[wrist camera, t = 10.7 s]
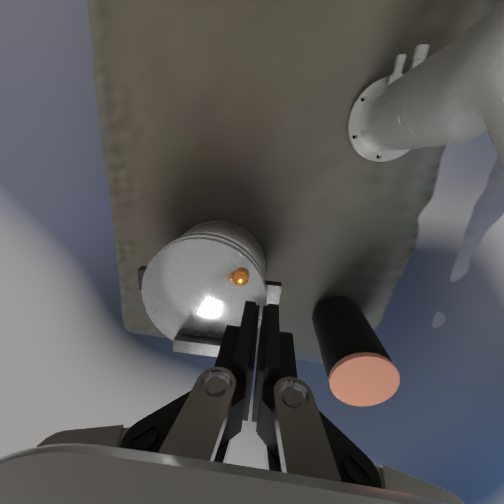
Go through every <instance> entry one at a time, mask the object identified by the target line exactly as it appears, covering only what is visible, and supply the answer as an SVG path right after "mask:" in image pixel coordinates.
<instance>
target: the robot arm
mask: <svg viewBox="0 0 504 504" xmlns="http://www.w3.org/2000/svg"><path fill="white" fill-rule="evenodd" d="M429 47H430V45H428V44H421V45H417V46H415V48H414V50H413V54H412V58H411V61H410V63H411V64H410V68H409V71H408V72H406V73H405V74H404V75H403V74H402V70H403V67H404V64H405V61H406V57H407V55H406V54H399V55H397V56H396V60H395V63H394V69H393V73H392V74H391V75H390V76H388V77H385V78H382V79H380V80H378V81H376V82H374V83H373V84H371V85H370V86H368V87H367V88H366V89H365V90H364V91H363V92H362V93H361V94H360V95H359V97H358V98H357V99H356V101H355V103H354V104H353V106H352V108H351V111H350V114H349V118H348V124H347V132H348V138H349V141H350V144H351V145H352V147H353V149H354V150H355V151H356V152H357V153H358V154H359V155H360V156H361V157H363V158H365V159H367V160H370V161H375V162H384V161H390V160H393V159H396V158H399V157H400V156H402V155H404V154H406V153H407V152H408V151H409V150H411V149H417V148H426V147H435V146H444V145H450V144H457V143H461V142H464V141H467V140H469V139H472V138H474V137H477V136H479V135H480V134H482V133H484V132H485V131H488V133H489V135H490V138H491V141H492V143H493V144H494V145H495V148H496V150H497V153H498V155H499V158H500V160H501V163H502V165H503V168H504V0H501V1H500V2H499V3H498V4H496V5H495V6H494V7H493V8H492V9H491V10H490V11H489V12H488V13H487V14H486V15H485V16H484V17H482V18H481V19H480V20H479V21H478V22H477V23H475V24H474V25H473V26H472V27H471V28H469V29H468V30H467V31H465V32H464V33H462V34H461V35H460V36H458V37H457V38H456V39H454V40H453V41H452V42H450V43H449V44H448V45H446V46H445V47H443V48H442V49H440V50H439V51H437V52H436V53H434V54H433V55H431V56H430V57H429V58H427V59H426V57H427V54H428V50H429ZM361 99H363V102H361ZM353 135H354V136H355V138H354V139H353V138H352V137H353ZM377 155H378V158H376V156H377ZM259 310H260V305H256V302H253V301H245V306H244V311H243V316H242V321H241V326H232V325H227V326H226V329H225V332H224V335H223V339H222V342H221V346H220V349H219V353H218V356H217V360H216V363H215V367H212V368H209V369H206V370H205V371H204V372H203V373H201V375H200V376H199V377H198V379H197V381H196V383H195V385H194V387H193V388H192V390H191V391H190V392H188V393H186V394H185V395H183V396H181V397H179V398H178V399H176V400H174V401H172V402H171V403H169V404H167V405H166V406H164V407H162V408H161V409H159V410H157V411H155V412H154V413H152V414H150V415H148V416H147V417H145V418H143V419H142V420H140V421H138V422H137V423H136V424H134V425H133V426H132V427H130V428H124V426H123V425H117V426H106V427H96V428H86V429H76V430H66V431H61V432H58V433H55V434H53V435H51V436H49V437H48V438H46V439H45V440H43V441H42V442H41V443H40V444H39V445H38V446H37V447H35V448H30V449H26V450H23V451H19V452H16V453H13V454H10V455H7V456H4V457H1V458H0V504H465V503H464V502H463V501H461V500H460V499H459V498H458V497H457V496H456V495H454V494H452V493H451V492H449V491H447V490H445V489H443V488H440V487H437V486H435V485H433V484H430V483H428V482H425V481H423V480H420V479H417V478H415V477H412V476H410V475H408V474H405V473H403V472H400V471H398V470H395V469H393V468H390V467H388V466H385V465H383V464H382V465H381V467H378V466H376V465H374V464H373V462H372V461H371V460H370V459H369V458H368V457H367V456H366V455H365V454H364V453H363V452H362V451H361V450H360V449H359V448H358V447H357V446H356V445H355V444H354V443H353V442H352V441H351V440H349V439H348V438H347V437H346V436H345V435H344V434H343V433H342V432H341V431H340V430H339V429H338V428H337V427H336V426H335V425H334V424H333V423H332V422H330V421H329V420H328V419H327V418H326V417H325V416H324V415H323V414H322V413H321V412H320V411H319V410H318V408H317V405H316V402H315V399H314V396H313V393H312V391H311V389H310V387H309V386H308V385H307V384H306V383H305V382H303V381H302V380H301V379H298V378H297V371H296V362H295V353H294V344H293V335H292V333H287V332H280V331H279V305H277V304H269V303H268V305H267V306H263V312H262V320H261V328H260V336H259V344H258V353H257V365H256V379H255V389H254V401H253V414H252V422H257V427H256V428H257V429H256V432H257V434H258V435H259V436H260V438H261V439H262V440H263V441H264V443H265V448H264V450H265V460H266V470H265V469H257V468H252V467H245V466H239V465H233V464H226V463H225V461H226V458H227V454H228V450H229V447H230V443H231V439H232V438H233V437H234V436H235V435H237V434H238V433H239V432H240V431H241V427H242V420H245V421H248V413H249V404H250V396H251V388H252V380H253V371H254V362H255V352H256V342H257V331H258V320H259Z"/></svg>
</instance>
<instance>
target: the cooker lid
mask: <svg viewBox="0 0 504 504" xmlns="http://www.w3.org/2000/svg"><path fill="white" fill-rule="evenodd" d="M142 299H143V303H144V306H145V309H146V311H147V314H148V315H149V317H150V319H151V320H152V322H153V323H154V324H155V326H156V327H157V328H158V329H159V330H160V331H161V332H162V333H163V334H164V335H166V336H167V337H168V338H170V339H171V340H173V350H174V351H175V352H184V353H190V354H199V355H206V356H213V357H217V356H218V353H219V349H220V346H221V342H222V339H223V335H224V332H225V329H226V326H227V325H232V326H241V321H242V316H243V311H244V306H245V301H253V302H256V305H260V310H259V320H258V328H259V327H260V325H261V320H262V312H263V306H266V305H267V293H266V287H265V282H264V280H263V277H262V275H261V273H260V271H259V269H258V268H257V266H256V265H255V264H254V262H253V261H252V260H251V259H250V258H249V257H248V256H247V255H246V254H245V253H243V252H242V251H241V250H239V249H238V248H236V247H235V246H233V245H231V244H229V243H226V242H224V241H221V240H218V239H213V238H208V237H192V238H186V239H182V240H179V241H176V242H174V243H172V244H170V245H168V246H167V247H165V248H164V249H163V250H161V251H160V252H159V253H157V255H156V256H155V257H154V258H153V259H152V260H151V261H150V263H149V264H148V266H147V268H146V270H145V273H144V276H143V280H142Z"/></svg>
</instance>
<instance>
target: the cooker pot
mask: <svg viewBox="0 0 504 504" xmlns="http://www.w3.org/2000/svg"><path fill="white" fill-rule="evenodd" d="M192 237H208V238H213V239H218V240H221V241H224V242H226V243H229V244H231V245H233V246H235V247H236V248H238V249H239V250H241V251H242V252H243V253H245V254H246V255H247V256H248V257H249V258H250V259H251V260H252V261H253V262H254V264H255V265H256V266H257V268H258V269H259V271H260V273H261V275H262V277H263V280H264V282H265V287H266V293H267V305H268V303H269V304H277V305H279V300H280V293H281V287H282V286H281V282H274V281H266V280H265V271H266V261H265V256H264V252H263V250H262V247H261V246H260V244H259V242H258V241H257V239H256V238H255V237H254V236H253V235H252V234H251V233H250V232H249V231H248V230H246V229H245V228H243V227H241V226H240V225H237V224H235V223H232V222H229V221H224V220H210V221H205V222H202V223H199V224H197V225H195V226H194V227H192V228H191V229H189V230H188V231H187V232H186V233H184V234H183V235H182V236H180V237H179V238H177V239H175V240H174V241H172V242H170V243H169V244H168V245H170V244H172V243H174V242H176V241H179V240H182V239H186V238H192ZM168 245H166V246H165V247H167V246H168ZM165 247H164V248H165ZM164 248H162V249H161V250H163V249H164ZM161 250H160V251H161ZM160 251H159V252H160ZM159 252H158V253H159ZM146 268H147V266H141V267H140V268H139V269H138V281H139V289H141V290H142V280H143V276H144V273H145V270H146Z"/></svg>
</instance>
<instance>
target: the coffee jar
mask: <svg viewBox="0 0 504 504" xmlns="http://www.w3.org/2000/svg"><path fill="white" fill-rule="evenodd" d="M312 320H313V325H314V329H315V332H316V336H317V340H318V344H319V348H320V351H321V355H322V359H323V363H324V367H325V370H326V374H327V377H328V378H329V383H330V389H331V391H332V392H333V394H334V395H335V397H337V398H338V399H339V400H341V401H342V402H344V403H347V404H350V405H355V406H361V407H362V406H372V405H375V404H379V403H382V402H383V401H385V400H387V399H388V398H390V397H391V396H392V395H393V394H394V393H395V392H396V391H397V388H398V386H399V383H400V378H399V377H400V375H399V373H398V371H397V369H396V367H395V366H394V364H393V363H392V362H391V360H390V357H389V356H388V354H387V352H386V350H385V349H384V347H383V346H382V344H381V342H380V341H379V339H378V337H377V336H376V334H375V332H374V331H373V329H372V328H371V326H370V324H369V323H368V321H367V319H366V318H365V316H364V315H363V313H362V311H361V310H360V308H359V306H358V305H357V304H356V303H355V302H353V301H352V300H350V299H347V298H345V297H331V298H328V299H326V300H323V301H322V302H321V303H320V304H319V305H317V307H316V309H315V310H314V312H313V317H312Z"/></svg>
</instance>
